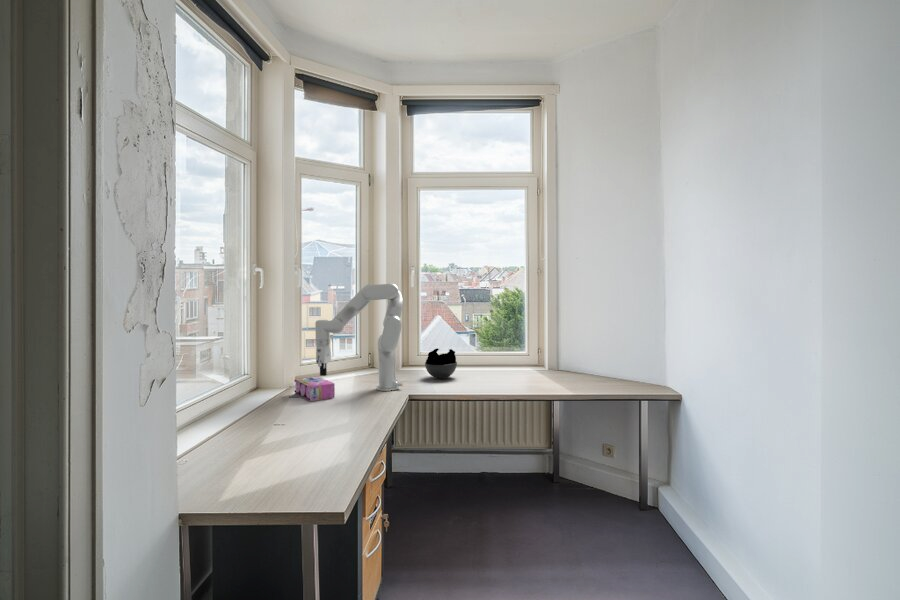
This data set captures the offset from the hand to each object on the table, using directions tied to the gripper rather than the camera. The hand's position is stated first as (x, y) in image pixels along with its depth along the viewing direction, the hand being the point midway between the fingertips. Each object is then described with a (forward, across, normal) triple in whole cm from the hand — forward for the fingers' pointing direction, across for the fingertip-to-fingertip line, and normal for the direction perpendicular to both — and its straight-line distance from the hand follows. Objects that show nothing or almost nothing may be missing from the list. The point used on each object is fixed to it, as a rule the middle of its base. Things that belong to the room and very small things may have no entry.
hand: (323, 375), depth 277 cm
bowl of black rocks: (+10, +46, -58) cm, 74 cm away
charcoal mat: (+10, 0, +7) cm, 12 cm away
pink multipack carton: (+5, -3, -3) cm, 7 cm away
